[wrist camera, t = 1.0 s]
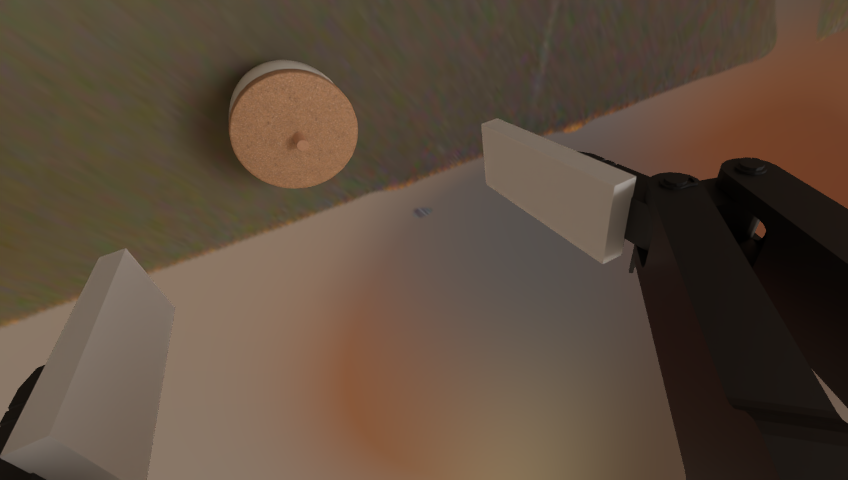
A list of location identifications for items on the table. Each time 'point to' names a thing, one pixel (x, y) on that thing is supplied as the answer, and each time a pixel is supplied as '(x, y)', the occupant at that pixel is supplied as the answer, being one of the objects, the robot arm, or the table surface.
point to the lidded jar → (291, 124)
